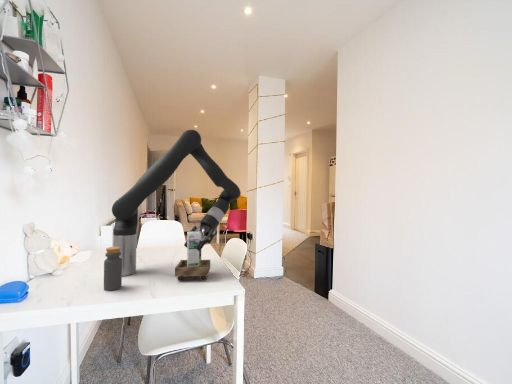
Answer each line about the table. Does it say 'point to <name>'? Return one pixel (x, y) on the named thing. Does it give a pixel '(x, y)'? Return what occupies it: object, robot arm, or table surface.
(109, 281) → the bottle
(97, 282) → the table surface
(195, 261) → the syrup box
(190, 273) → the wooden toy cart
